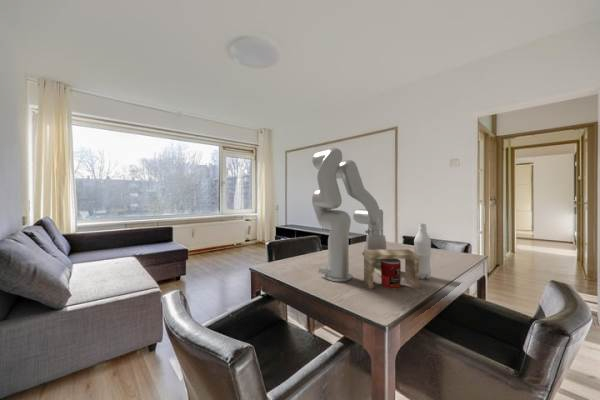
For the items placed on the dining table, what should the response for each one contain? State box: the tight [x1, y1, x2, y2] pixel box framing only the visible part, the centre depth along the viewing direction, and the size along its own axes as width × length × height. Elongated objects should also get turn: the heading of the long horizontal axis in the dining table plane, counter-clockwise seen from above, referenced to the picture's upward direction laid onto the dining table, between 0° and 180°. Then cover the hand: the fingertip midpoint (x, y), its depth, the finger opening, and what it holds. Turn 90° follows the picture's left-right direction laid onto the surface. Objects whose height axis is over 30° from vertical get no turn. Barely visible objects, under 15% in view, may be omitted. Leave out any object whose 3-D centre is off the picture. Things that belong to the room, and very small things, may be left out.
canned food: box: [380, 259, 402, 290], centre depth 105 cm, size 8×8×11 cm
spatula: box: [373, 259, 381, 278], centre depth 120 cm, size 4×20×7 cm, turn 179°
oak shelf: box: [363, 249, 420, 290], centre depth 106 cm, size 20×10×14 cm, turn 89°
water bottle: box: [413, 223, 432, 280], centre depth 115 cm, size 7×7×25 cm
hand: (375, 267), depth 128 cm, fingers closed on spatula, 4 cm apart
